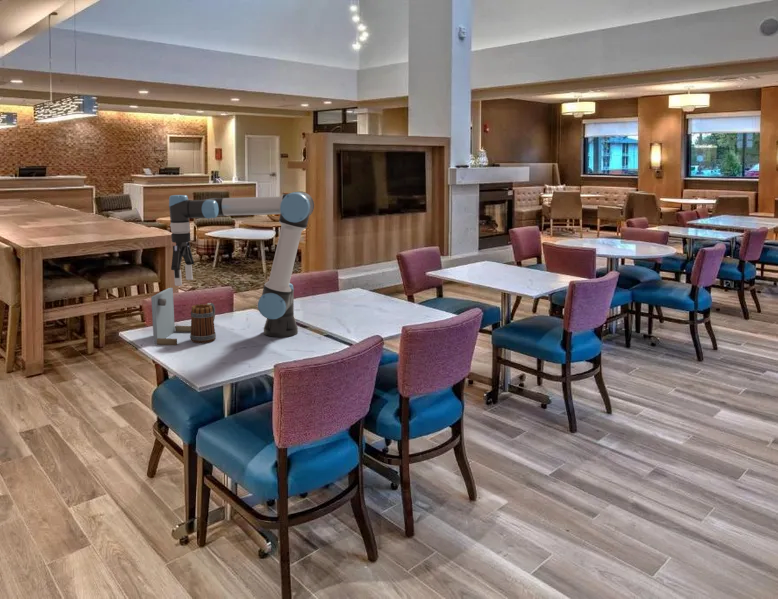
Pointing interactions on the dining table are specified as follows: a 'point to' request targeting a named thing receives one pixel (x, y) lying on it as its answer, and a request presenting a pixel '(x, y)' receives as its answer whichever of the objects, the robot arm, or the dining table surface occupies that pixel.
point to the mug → (203, 323)
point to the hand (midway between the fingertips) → (184, 282)
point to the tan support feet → (173, 341)
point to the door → (163, 314)
